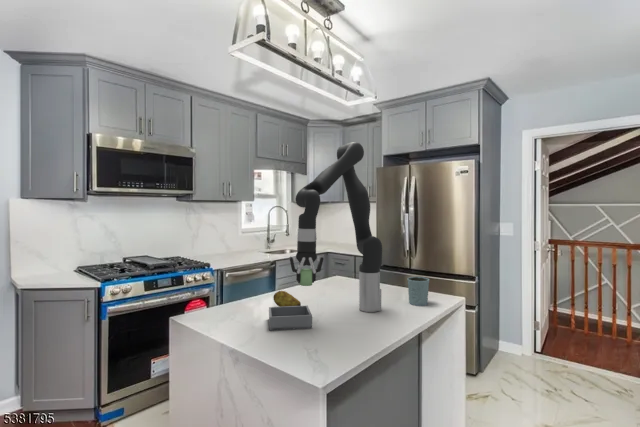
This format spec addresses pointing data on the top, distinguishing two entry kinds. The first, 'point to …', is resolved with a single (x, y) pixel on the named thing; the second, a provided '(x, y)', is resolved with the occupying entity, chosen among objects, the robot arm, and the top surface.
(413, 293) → the teal cup
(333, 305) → the top surface
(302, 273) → the cucumber chunk
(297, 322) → the bin
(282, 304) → the potato
